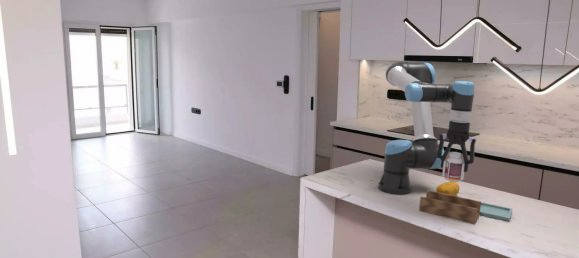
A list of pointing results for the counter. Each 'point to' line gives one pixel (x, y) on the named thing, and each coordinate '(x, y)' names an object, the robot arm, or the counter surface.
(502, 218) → the tray
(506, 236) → the counter surface
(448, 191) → the potato
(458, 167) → the pill bottle
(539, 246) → the counter surface
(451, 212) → the wooden shelf
